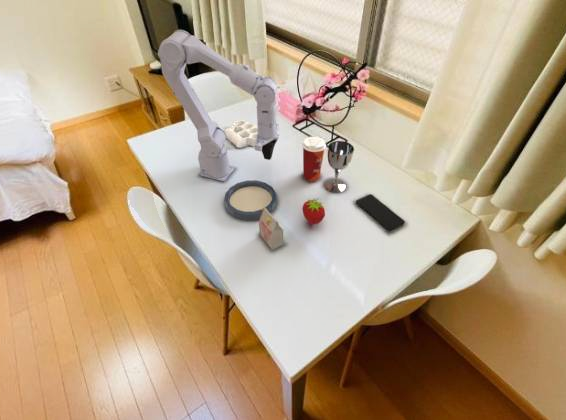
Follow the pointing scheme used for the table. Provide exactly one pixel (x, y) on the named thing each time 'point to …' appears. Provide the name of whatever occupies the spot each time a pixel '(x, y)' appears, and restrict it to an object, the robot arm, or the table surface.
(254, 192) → the plate
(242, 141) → the white tube cluster
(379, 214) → the smartphone
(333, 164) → the silver metal goblet
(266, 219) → the milk carton
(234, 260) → the table surface
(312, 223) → the strawberry
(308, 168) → the paper cup
